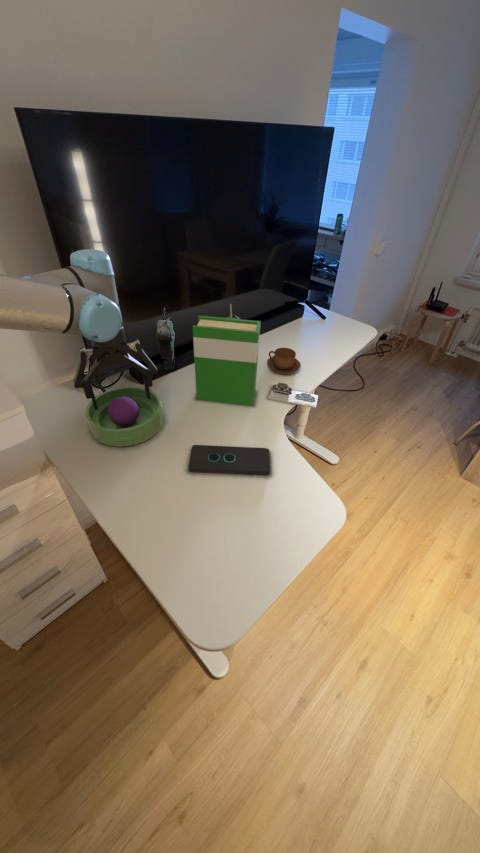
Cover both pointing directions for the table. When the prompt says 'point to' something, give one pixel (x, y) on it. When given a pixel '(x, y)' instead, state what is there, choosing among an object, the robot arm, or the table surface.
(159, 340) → the ceramic cat
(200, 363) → the hardback book
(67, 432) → the table surface
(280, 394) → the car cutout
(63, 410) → the table surface
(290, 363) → the cup and saucer
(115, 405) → the ball
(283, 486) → the table surface
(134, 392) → the bowl
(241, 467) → the smart home device
